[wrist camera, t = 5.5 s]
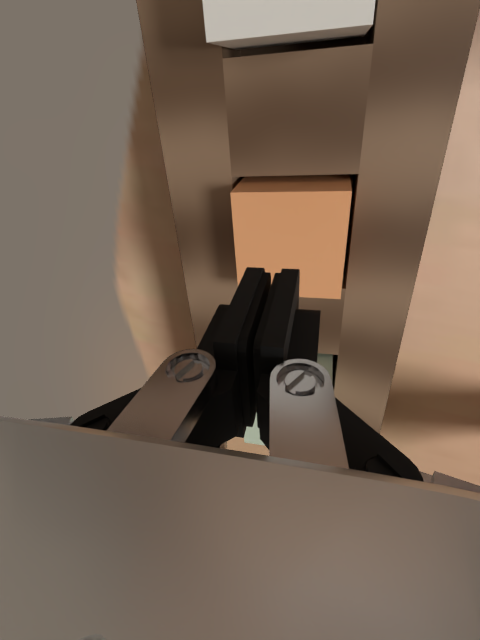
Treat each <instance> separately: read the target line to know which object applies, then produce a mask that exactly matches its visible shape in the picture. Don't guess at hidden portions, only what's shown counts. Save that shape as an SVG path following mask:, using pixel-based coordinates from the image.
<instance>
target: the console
mask: <svg viewBox="0 0 480 640" xmlns="http://www.w3.org/2000/svg"><path fill="white" fill-rule="evenodd" d="M136 2H137V8H138V14H139V20H140V25H141V31H142V37H143V43H144V48H145V54H146V60H147V66H148V71H149V77H150V83H151V89H152V94H153V100H154V106H155V112H156V117H157V123H158V129H159V135H160V140H161V146H162V152H163V158H164V163H165V169H166V175H167V181H168V186H169V192H170V198H171V204H172V209H173V215H174V221H175V227H176V232H177V238H178V244H179V250H180V255H181V261H182V267H183V272H184V278H185V284H186V290H187V295H188V301H189V307H190V313H191V318H192V324H193V330H194V336H195V341H196V347H198V345H199V343H200V341H201V339H202V337H203V335H204V333H205V331H206V329H207V327H208V325H209V323H210V321H211V320H212V318H213V316H214V314H215V312H216V310H217V308H218V306H219V305H220V304H226V305H230V303H231V300H232V298H233V296H234V294H235V292H236V290H237V287H238V282H237V269H236V257H235V245H234V232H233V220H232V208H231V195H230V192H231V191H232V190H233V189H234V188H235V187H236V186H237V184H238V183H239V182H240V181H241V180H242V179H243V178H244V177H245V176H290V175H335V174H350V180H351V188H352V196H351V205H350V215H349V224H348V234H347V243H346V253H345V262H344V271H343V281H342V290H341V299H327V298H307V297H299V309H306V310H321V314H320V328H319V342H318V353H321V354H333V366H332V385H333V390H334V395H335V397H336V398H337V399H338V400H339V401H340V402H342V403H343V404H344V405H345V406H346V407H348V408H349V409H350V410H351V411H352V412H354V413H355V414H356V415H357V416H358V417H360V418H361V419H362V420H363V421H364V422H366V423H367V424H368V425H369V426H370V427H372V428H373V429H374V430H375V431H376V432H378V433H379V434H380V430H381V425H382V421H383V417H384V413H385V408H386V404H387V400H388V396H389V391H390V387H391V383H392V378H393V374H394V370H395V366H396V361H397V357H398V353H399V349H400V344H401V340H402V336H403V332H404V327H405V323H406V319H407V315H408V310H409V306H410V302H411V298H412V293H413V289H414V285H415V281H416V276H417V272H418V268H419V264H420V259H421V255H422V251H423V247H424V242H425V238H426V234H427V230H428V225H429V221H430V217H431V213H432V208H433V204H434V200H435V196H436V191H437V187H438V183H439V179H440V174H441V170H442V166H443V162H444V157H445V153H446V149H447V145H448V140H449V136H450V132H451V128H452V123H453V119H454V115H455V111H456V106H457V102H458V98H459V94H460V89H461V85H462V81H463V77H464V72H465V68H466V64H467V60H468V55H469V51H470V47H471V43H472V38H473V34H474V30H475V26H476V21H477V17H478V13H479V9H480V0H375V10H374V19H373V25H372V26H371V27H370V29H369V30H368V31H367V33H366V34H365V35H364V37H356V38H346V39H336V40H327V41H317V42H307V43H297V44H288V45H278V46H268V47H258V48H249V49H239V50H235V49H231V48H227V47H223V46H219V45H215V44H211V43H206V33H205V22H204V12H203V2H202V0H136Z"/></svg>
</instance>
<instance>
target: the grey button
mask: <svg viewBox="0 0 480 640" xmlns="http://www.w3.org/2000/svg"><path fill="white" fill-rule="evenodd" d="M202 2H203V12H204V22H205V33H206V43H211V44H215V45H219V46H223V47H227V48H231V49H235V50H239V49H249V48H258V47H268V46H278V45H288V44H297V43H307V42H317V41H327V40H336V39H346V38H356V37H364V35H365V34H366V33H367V31H368V30H369V29H370V27H371V26H372V25H373V19H374V10H375V0H202Z"/></svg>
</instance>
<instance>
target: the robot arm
mask: <svg viewBox="0 0 480 640" xmlns="http://www.w3.org/2000/svg"><path fill="white" fill-rule="evenodd" d="M299 282H300V269H283V268H282V270H281V273H275V275H274V278H273V281H272V284H271V273H270V272H265V269H264V268H256V267H247V268H246V270H245V272H244V274H243V277H242V279H241V281H240V283H239V285H238V287H237V290H236V292H235V294H234V296H233V298H232V300H231V303H230V305H226V304H220V305H219V306H218V308H217V310H216V312H215V314H214V316H213V318H212V320H211V321H210V323H209V325H208V327H207V329H206V331H205V333H204V335H203V337H202V339H201V341H200V343H199V345H198V347H197V349H187V350H182V351H179V352H176V353H174V354H172V355H171V356H169V357H168V358H167V359H166V360H165V361H163V363H162V364H161V365H160V366H159V368H158V369H157V370H156V371H155V372H154V374H153V375H152V376H151V377H150V378H149V380H148V381H147V382H146V383H145V385H144V386H143V387H142V388H140V389H138V390H136V391H134V392H131V393H129V394H127V395H125V396H122V397H120V398H118V399H116V400H113V401H111V402H109V403H107V404H104V405H102V406H100V407H98V408H96V409H93V410H91V411H89V412H87V413H85V414H83V415H81V416H80V417H78V418H77V419H76V420H75V421H74V420H73V418H72V417H60V418H44V419H28V420H27V419H18V418H12V417H3V416H0V640H480V486H478V485H475V484H472V483H469V482H466V481H463V480H460V479H457V478H454V477H451V476H448V475H445V474H442V473H439V472H436V471H434V473H433V476H432V475H429V474H426V473H423V472H421V471H419V470H418V468H417V467H416V466H415V465H414V464H413V463H412V461H411V460H410V459H409V458H408V457H406V456H405V455H404V454H403V453H402V452H400V451H399V450H398V449H397V448H396V447H394V446H393V445H392V444H391V443H390V442H388V441H387V440H386V439H385V438H384V437H382V436H381V435H380V434H379V433H378V432H376V431H375V430H374V429H373V428H372V427H370V426H369V425H368V424H367V423H366V422H364V421H363V420H362V419H361V418H360V417H358V416H357V415H356V414H355V413H354V412H352V411H351V410H350V409H349V408H348V407H346V406H345V405H344V404H343V403H342V402H340V401H339V400H338V399H337V398H336V397H335V395H334V390H333V385H332V380H331V377H330V374H329V372H328V371H327V370H326V369H325V368H324V367H323V366H321V365H320V364H318V363H317V356H318V342H319V328H320V314H321V310H306V309H299ZM256 412H257V426H258V428H259V432H260V440H261V441H262V442H263V443H264V444H265V446H266V447H267V448H268V449H269V456H266V455H260V454H254V453H247V452H241V451H234V450H228V449H227V441H228V440H230V439H232V438H234V437H242V438H244V435H245V431H246V427H253V425H254V421H255V417H256Z"/></svg>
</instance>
